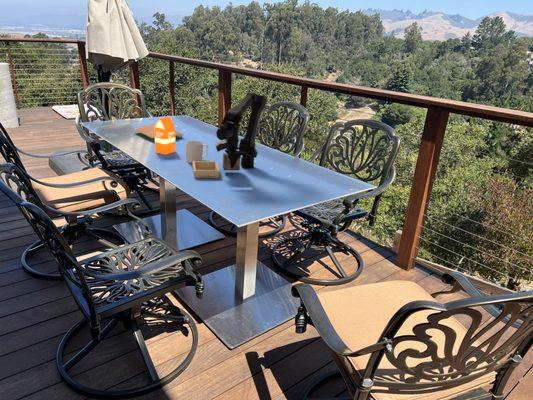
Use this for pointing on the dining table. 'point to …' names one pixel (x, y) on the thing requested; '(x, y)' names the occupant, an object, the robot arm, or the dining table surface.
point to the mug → (195, 151)
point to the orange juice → (165, 136)
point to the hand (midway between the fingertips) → (231, 166)
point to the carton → (206, 169)
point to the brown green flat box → (151, 131)
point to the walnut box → (227, 163)
